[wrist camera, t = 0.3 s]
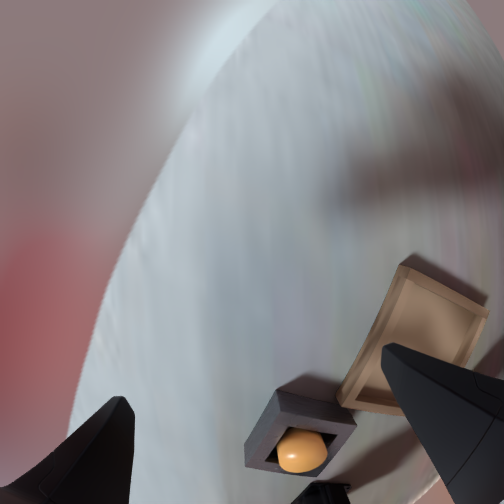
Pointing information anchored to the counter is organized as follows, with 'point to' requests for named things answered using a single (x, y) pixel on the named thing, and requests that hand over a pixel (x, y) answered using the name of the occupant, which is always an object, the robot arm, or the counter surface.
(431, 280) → the wooden tray
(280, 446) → the button
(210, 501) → the counter surface
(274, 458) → the panel
